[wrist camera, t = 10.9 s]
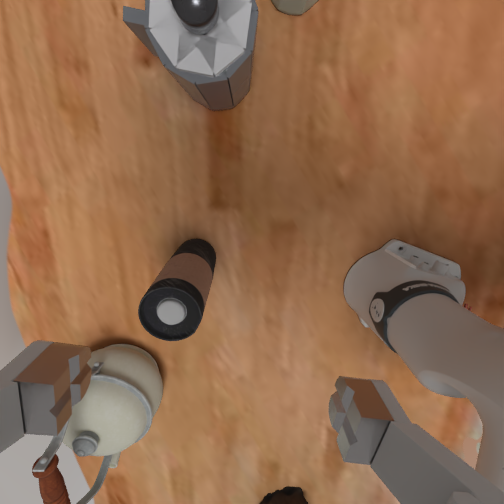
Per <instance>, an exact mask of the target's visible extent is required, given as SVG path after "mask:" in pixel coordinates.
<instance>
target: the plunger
mask: <svg viewBox="0 0 504 504" xmlns="http://www.w3.org/2000/svg"><path fill="white" fill-rule="evenodd" d="M171 2H172V5H173V7H174V9H175V11H176V13H177V15H178V18H179V20H180V22H181V23H182V25H183V26H184V27H185V28H186V29H187V30H188V31H189V32H191V33H194V34H198V35H206V34H207V33H208V32H209V31H211V30H212V29H213V28H214V26H215V25H216V23H217V21H218V17H219V3H218V0H171Z"/></svg>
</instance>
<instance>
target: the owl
mask: <svg viewBox="0 0 504 504" xmlns="http://www.w3.org/2000/svg"><path fill="white" fill-rule="evenodd" d="M260 504H308V502H307V501H306V500H305V498H304V496H303V491H302V489H301V488H300V487H285V488H283V489H282V490H276V491H275V492H274V493H272V494H271V493H268V494H267V495H266V496H265V497H264V499H263V501H262V502H261V503H260Z"/></svg>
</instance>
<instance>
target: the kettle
mask: <svg viewBox="0 0 504 504" xmlns="http://www.w3.org/2000/svg"><path fill="white" fill-rule="evenodd" d="M87 364H88V365H89V366H90V368H91V372H92V375H91V381H90V384H89V387H88V389H87V392H86V394H85V395H84V397H83V398H82V400H81V401H80V402H78V403H77V404H75V405H74V406H72V415H71V417H70V418H69V420H68V421H67V422H66V424H65V425H64V427H63V428H62V430H61V431H60V433H59V434H58V436H53V439H52V441H51V443H50V444H49V446H48V448H47V449H46V451H45V452H44V454H43V455H42V456H41V457H40V458H39V459H37V461H36V462H35V463H34V465H33V468H32V473H33V475H34V477H36V478H39V486H40V493H41V497H42V499H43V503H44V504H71V503H70V499H69V497H68V492H67V489H66V486H65V483H64V479H63V476H62V474H61V473H60V471H59V469H58V468H57V465H58V461H59V459H58V456H57V455H56V454H55V453H56V452H57V450H58V448H59V447H60V445H61V443H62V442H63V443H64V444H65V445H66V446H68V447H69V448H71V449H72V450H74V452H75V453H76V454H77V455H78V456H88V455H90V456H104V459H103V462H102V465H101V468H100V471H99V474H98V476H97V479H96V481H95V483H94V485H93V487H92V488H91V490H90V491H89V492H88V493H87V494H86V495H85V496H84V497H83V498H82V499H81V500H80V501H79V502H78V503H77V504H87V503H88V502H89V501H90V500H91V499H92V498H93V497H94V496H95V495H96V494H97V492H98V491H99V489H100V488H101V486H102V484H103V482H104V479H105V477H106V474H107V471H108V468H109V467H110V468H116V467H117V465H118V461H119V457H120V453H121V451H123V450H125V449H126V448H128V447H129V446H131V445H132V444H134V443H136V442H137V441H139V440H140V439H141V438H143V437H144V435H145V434H146V433H147V432H148V430H149V428H150V426H151V423H152V418H153V416H154V415H155V413H156V411H157V410H158V408H159V405H160V403H161V399H162V395H163V383H162V378H161V375H160V373H159V369H158V366H157V363H156V361H155V360H154V358H153V357H152V356H151V355H150V354H149V353H148V352H146V351H145V350H143V349H141V348H139V347H137V346H134V345H129V344H114V345H110V346H107V347H105V348H102V349H99V350H96V351H93V352H91V358H90V360H89V361H88V362H87Z"/></svg>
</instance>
